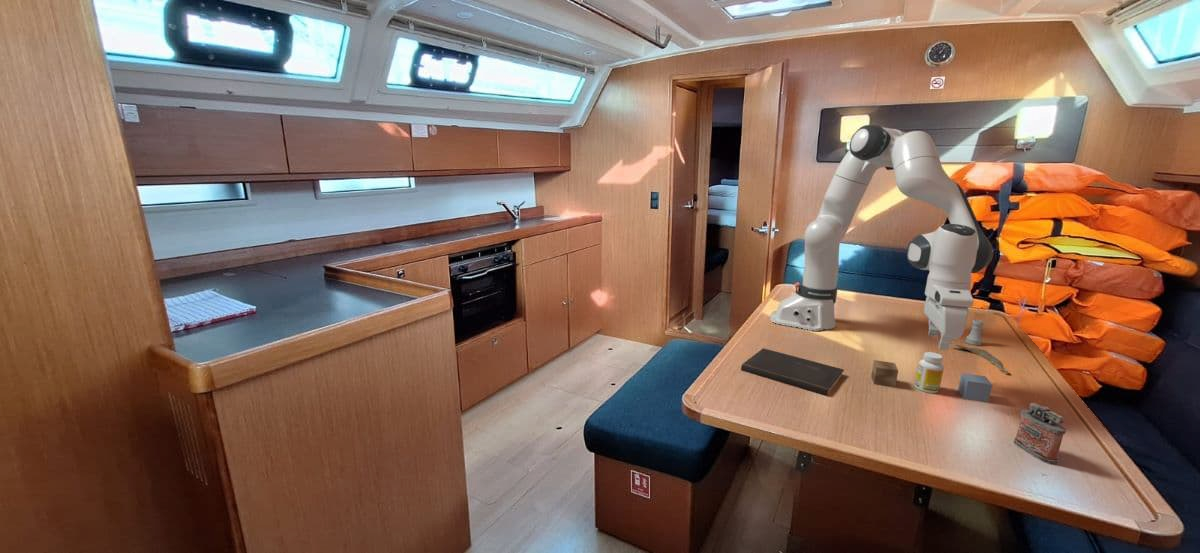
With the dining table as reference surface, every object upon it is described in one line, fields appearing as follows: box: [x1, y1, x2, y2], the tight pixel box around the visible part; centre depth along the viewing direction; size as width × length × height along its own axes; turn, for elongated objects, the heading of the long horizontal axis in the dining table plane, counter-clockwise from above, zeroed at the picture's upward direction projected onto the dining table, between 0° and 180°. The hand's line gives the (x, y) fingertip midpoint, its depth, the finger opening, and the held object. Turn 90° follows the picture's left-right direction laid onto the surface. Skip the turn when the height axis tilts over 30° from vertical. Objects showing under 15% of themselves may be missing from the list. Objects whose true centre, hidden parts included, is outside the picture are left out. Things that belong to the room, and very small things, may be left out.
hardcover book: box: [740, 347, 845, 397], centre depth 132 cm, size 16×23×2 cm
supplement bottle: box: [914, 351, 945, 394], centre depth 123 cm, size 5×5×10 cm
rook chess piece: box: [964, 318, 985, 346], centre depth 154 cm, size 4×4×8 cm
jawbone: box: [949, 342, 1012, 376], centre depth 142 cm, size 9×20×2 cm, turn 7°
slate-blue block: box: [957, 372, 993, 403], centre depth 120 cm, size 5×5×5 cm
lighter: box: [1013, 402, 1067, 465], centre depth 96 cm, size 8×3×10 cm, turn 5°
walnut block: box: [870, 359, 899, 388], centre depth 127 cm, size 5×5×5 cm
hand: (937, 342), depth 121 cm, fingers open, 8 cm apart
